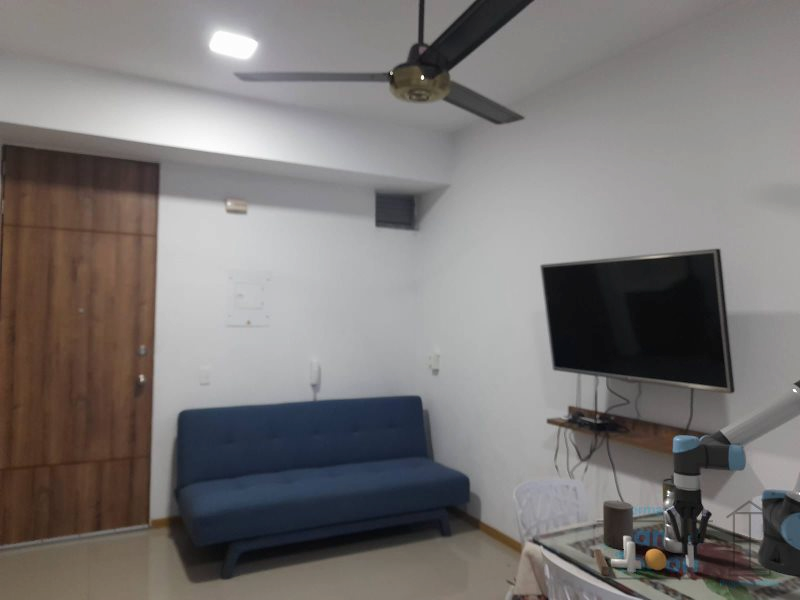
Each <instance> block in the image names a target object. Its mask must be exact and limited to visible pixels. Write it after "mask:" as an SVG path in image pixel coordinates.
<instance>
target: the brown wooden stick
mask: <svg viewBox="0 0 800 600" xmlns="http://www.w3.org/2000/svg"><path fill="white" fill-rule="evenodd" d="M593 550H594V551H593V553H594V554H593V555H594V556H595V557H594V556H593V557H594V560H595V559H596V560H595V562H596V564H598V565H597V566H598V570H599V569H600V570H599V571H600V574H602V575H601V576H609V565H608V563H607V561H606V558H605V556H604V554H603V552H602V550H601V549H600V548H599V549H597V548H594V549H593Z"/></svg>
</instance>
